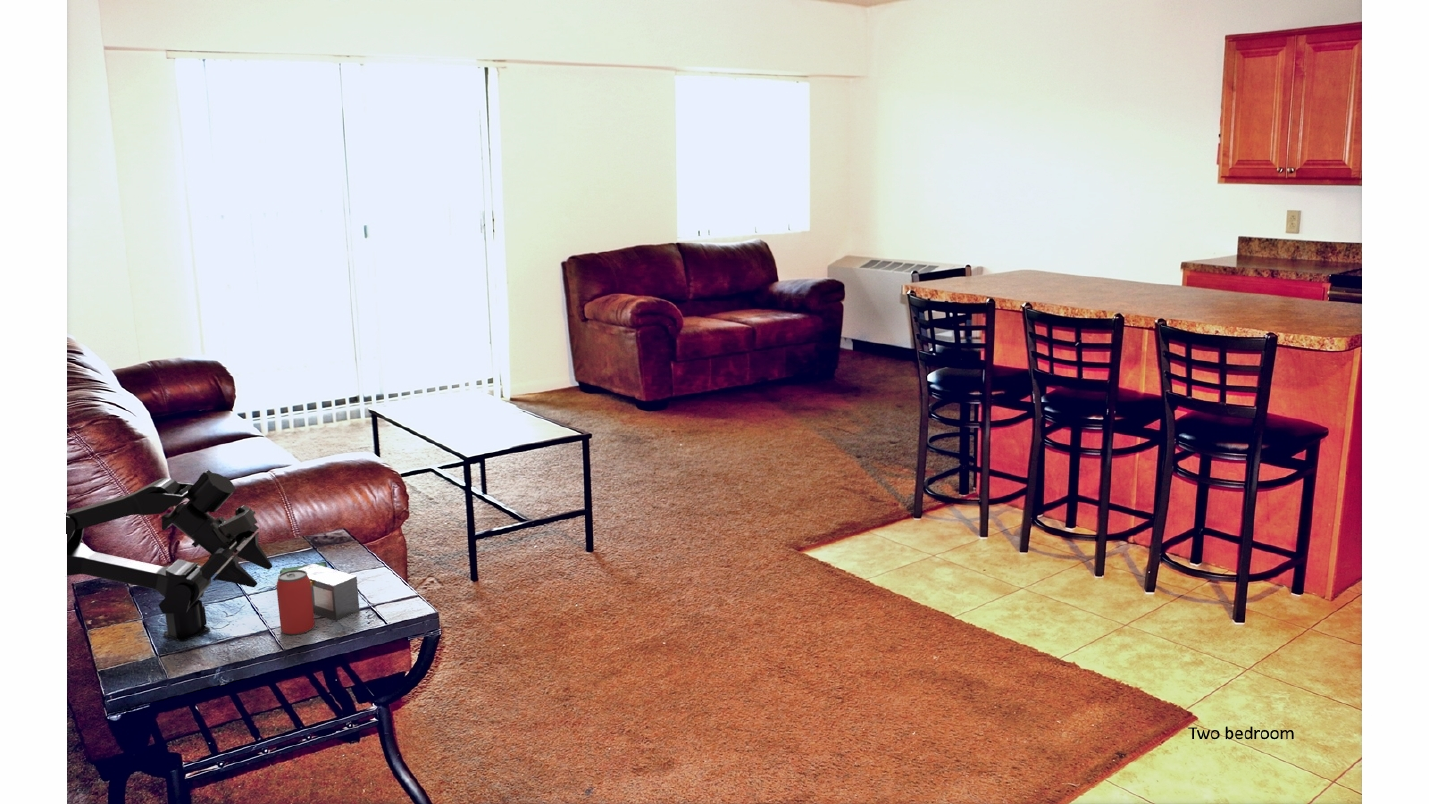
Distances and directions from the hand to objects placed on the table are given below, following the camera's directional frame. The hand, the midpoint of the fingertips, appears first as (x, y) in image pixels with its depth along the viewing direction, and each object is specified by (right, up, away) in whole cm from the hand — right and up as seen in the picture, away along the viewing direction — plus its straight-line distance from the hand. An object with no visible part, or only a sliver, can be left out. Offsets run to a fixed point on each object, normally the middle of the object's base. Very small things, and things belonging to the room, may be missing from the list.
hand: (263, 576), depth 217 cm
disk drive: (-1, -7, +26) cm, 27 cm away
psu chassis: (+8, -9, +13) cm, 18 cm away
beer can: (+6, -12, +3) cm, 13 cm away
